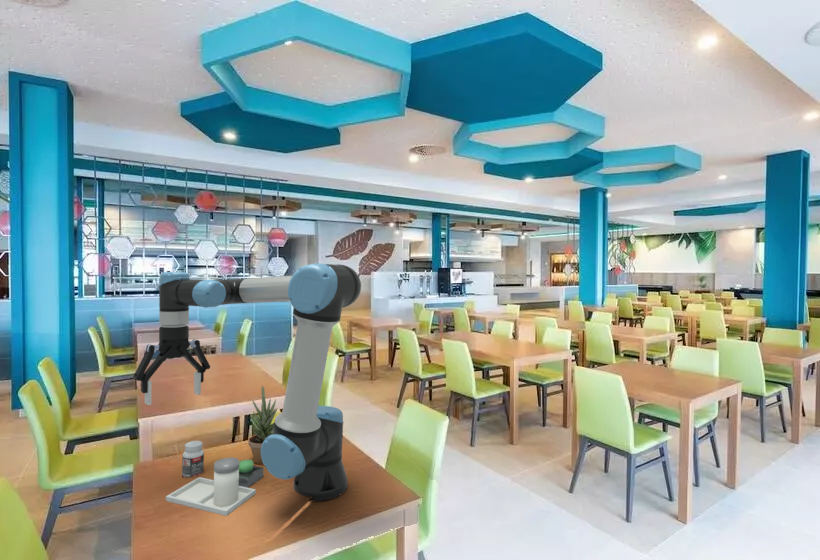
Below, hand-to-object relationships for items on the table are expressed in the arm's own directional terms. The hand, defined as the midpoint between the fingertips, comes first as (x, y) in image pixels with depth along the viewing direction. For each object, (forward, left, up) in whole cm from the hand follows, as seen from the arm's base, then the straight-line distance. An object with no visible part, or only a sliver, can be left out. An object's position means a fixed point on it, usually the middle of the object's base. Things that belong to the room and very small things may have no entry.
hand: (173, 398), depth 127 cm
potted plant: (-16, -21, -24) cm, 35 cm away
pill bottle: (-4, -4, -24) cm, 25 cm away
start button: (-21, -6, -19) cm, 29 cm away
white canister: (-24, +5, -22) cm, 33 cm away
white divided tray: (-19, +5, -24) cm, 31 cm away
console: (-21, -6, -24) cm, 32 cm away
